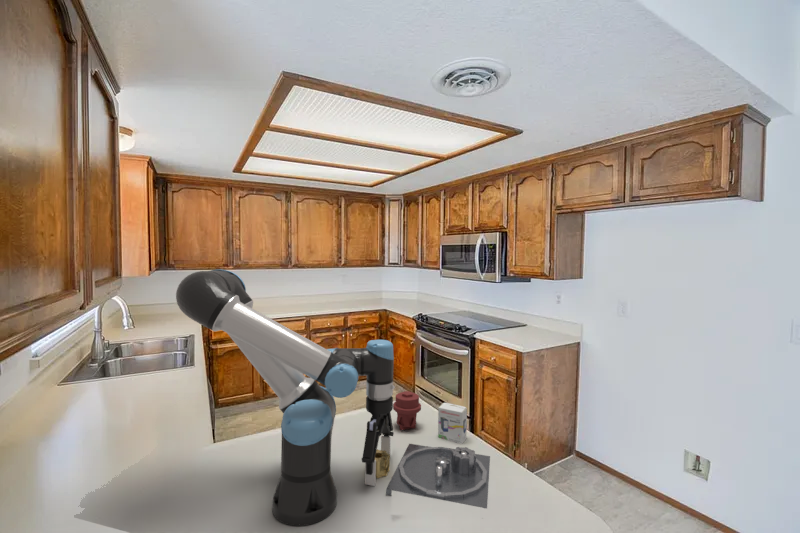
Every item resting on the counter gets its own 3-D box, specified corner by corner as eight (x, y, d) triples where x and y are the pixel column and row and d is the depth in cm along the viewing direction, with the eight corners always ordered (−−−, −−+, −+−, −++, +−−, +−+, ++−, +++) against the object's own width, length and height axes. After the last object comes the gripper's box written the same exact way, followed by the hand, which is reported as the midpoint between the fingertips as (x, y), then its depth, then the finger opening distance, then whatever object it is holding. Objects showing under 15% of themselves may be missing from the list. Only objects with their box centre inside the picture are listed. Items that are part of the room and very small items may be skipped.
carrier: (486, 514, 90) (487, 489, 90) (386, 494, 96) (386, 471, 96) (489, 461, 114) (490, 441, 114) (409, 448, 121) (409, 429, 120)
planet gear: (384, 479, 103) (385, 463, 103) (362, 475, 105) (362, 459, 105) (391, 467, 109) (392, 451, 109) (370, 463, 111) (370, 448, 111)
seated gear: (477, 475, 104) (478, 459, 103) (453, 474, 104) (453, 458, 103) (472, 462, 110) (473, 447, 110) (450, 462, 110) (450, 446, 110)
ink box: (466, 442, 126) (467, 406, 126) (461, 448, 121) (462, 412, 121) (442, 435, 130) (443, 401, 130) (436, 442, 125) (437, 406, 125)
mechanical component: (394, 420, 141) (421, 422, 140) (390, 432, 131) (419, 434, 130) (395, 387, 141) (422, 389, 140) (391, 397, 131) (420, 398, 130)
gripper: (378, 415, 94) (376, 499, 94) (403, 383, 118) (402, 451, 118) (349, 411, 96) (348, 494, 96) (380, 381, 120) (379, 447, 120)
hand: (378, 470), depth 107 cm, fingers open, 13 cm apart
